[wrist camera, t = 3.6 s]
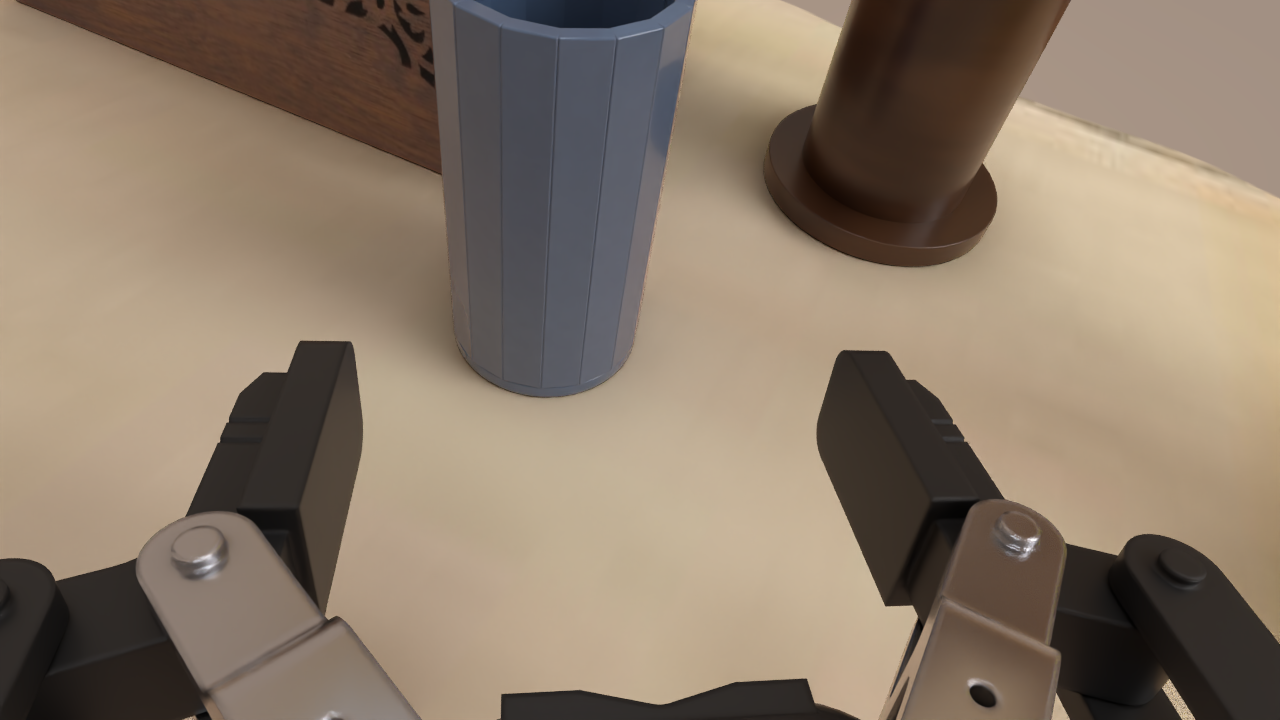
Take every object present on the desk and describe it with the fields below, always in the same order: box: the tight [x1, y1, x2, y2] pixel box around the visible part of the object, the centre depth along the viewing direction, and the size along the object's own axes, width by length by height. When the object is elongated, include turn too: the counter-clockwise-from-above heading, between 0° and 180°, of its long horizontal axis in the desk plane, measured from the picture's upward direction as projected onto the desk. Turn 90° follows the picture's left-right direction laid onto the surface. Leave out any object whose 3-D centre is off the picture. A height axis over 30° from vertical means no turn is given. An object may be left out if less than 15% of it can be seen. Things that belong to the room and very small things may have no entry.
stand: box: [764, 0, 1071, 266], centre depth 29 cm, size 11×11×14 cm
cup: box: [428, 0, 697, 397], centre depth 23 cm, size 6×6×12 cm
